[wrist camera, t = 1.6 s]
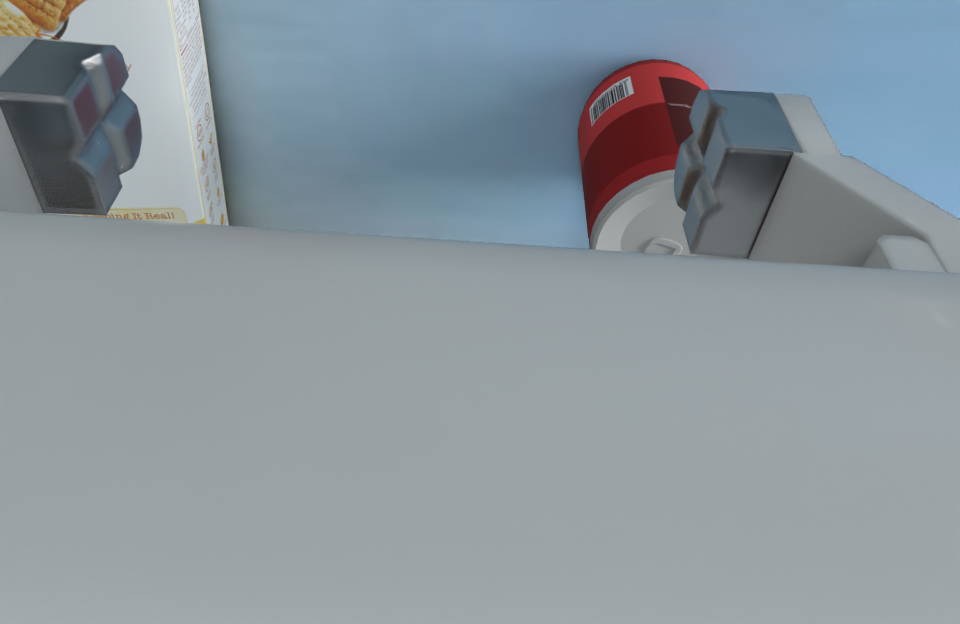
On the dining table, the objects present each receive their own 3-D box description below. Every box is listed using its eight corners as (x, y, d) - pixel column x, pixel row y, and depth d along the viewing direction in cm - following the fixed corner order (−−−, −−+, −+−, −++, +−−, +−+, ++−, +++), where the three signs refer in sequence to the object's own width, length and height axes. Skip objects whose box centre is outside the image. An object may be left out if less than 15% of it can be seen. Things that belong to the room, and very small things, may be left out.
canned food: (566, 171, 47) (578, 299, 40) (589, 48, 42) (608, 170, 34) (691, 180, 48) (726, 309, 40) (731, 59, 42) (781, 183, 34)
